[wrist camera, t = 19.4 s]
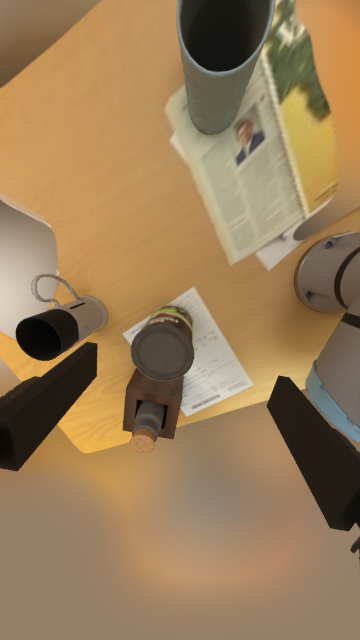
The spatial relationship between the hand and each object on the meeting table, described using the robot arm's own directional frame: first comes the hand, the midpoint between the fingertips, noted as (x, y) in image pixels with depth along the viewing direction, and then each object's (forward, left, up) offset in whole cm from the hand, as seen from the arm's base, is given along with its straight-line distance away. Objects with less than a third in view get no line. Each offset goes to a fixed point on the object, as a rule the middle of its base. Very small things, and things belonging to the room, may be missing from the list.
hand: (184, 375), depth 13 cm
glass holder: (+23, +5, -29) cm, 37 cm away
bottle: (+4, +26, -29) cm, 39 cm away
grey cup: (+2, -33, -29) cm, 44 cm away
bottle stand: (+4, +26, -29) cm, 39 cm away
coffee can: (+3, +7, -29) cm, 30 cm away
